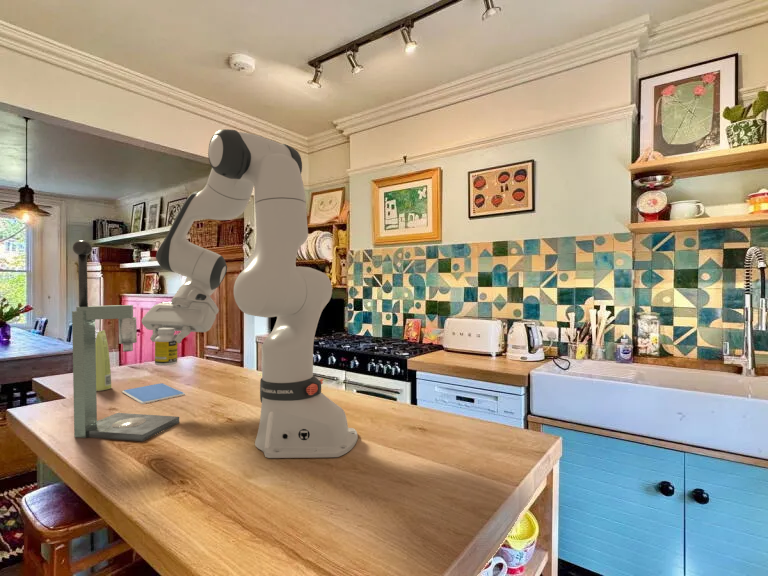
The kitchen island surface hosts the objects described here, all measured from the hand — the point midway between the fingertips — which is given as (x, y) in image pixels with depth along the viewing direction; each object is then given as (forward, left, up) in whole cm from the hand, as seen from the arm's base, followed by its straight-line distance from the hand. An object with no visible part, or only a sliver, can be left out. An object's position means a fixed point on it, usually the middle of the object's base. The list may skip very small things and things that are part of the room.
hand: (164, 341), depth 108 cm
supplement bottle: (0, -1, -7) cm, 7 cm away
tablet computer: (+17, -16, -20) cm, 31 cm away
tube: (+38, -18, -20) cm, 47 cm away
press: (0, +12, -20) cm, 23 cm away
